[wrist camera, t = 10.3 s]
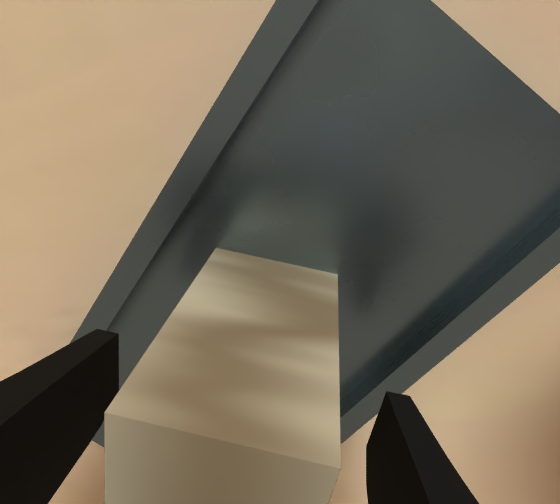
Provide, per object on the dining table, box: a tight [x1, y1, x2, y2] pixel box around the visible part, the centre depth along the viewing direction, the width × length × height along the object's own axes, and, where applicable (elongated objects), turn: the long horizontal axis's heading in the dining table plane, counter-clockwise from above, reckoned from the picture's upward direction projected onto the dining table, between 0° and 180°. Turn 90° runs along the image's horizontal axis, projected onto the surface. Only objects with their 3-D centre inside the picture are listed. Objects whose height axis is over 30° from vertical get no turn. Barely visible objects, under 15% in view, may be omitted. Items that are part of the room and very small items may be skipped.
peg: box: [104, 248, 341, 504], centre depth 11 cm, size 4×4×7 cm
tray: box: [71, 0, 560, 447], centre depth 14 cm, size 10×20×2 cm, turn 144°
